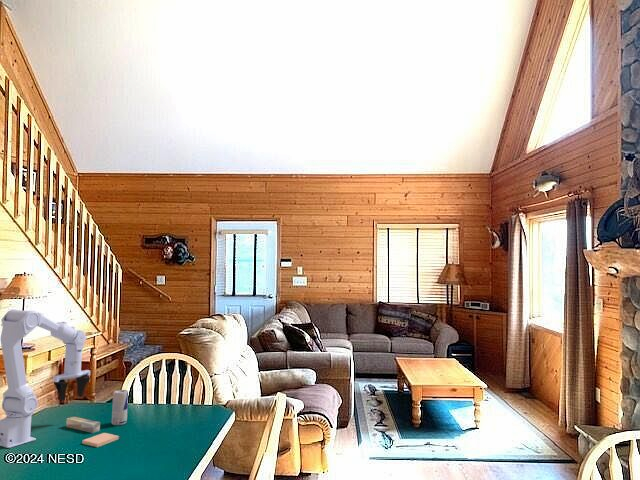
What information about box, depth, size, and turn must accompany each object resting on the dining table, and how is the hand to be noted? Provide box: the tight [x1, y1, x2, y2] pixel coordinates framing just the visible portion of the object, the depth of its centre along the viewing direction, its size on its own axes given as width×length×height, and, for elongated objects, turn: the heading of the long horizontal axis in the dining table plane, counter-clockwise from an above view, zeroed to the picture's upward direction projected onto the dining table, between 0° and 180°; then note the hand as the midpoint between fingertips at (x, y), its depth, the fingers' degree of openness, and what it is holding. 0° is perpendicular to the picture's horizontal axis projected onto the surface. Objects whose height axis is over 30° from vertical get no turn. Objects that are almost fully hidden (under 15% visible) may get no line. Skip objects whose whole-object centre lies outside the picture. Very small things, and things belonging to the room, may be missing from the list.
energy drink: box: [111, 389, 129, 426], centre depth 189 cm, size 5×5×12 cm
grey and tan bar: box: [65, 416, 101, 434], centre depth 181 cm, size 3×14×3 cm, turn 64°
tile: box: [82, 432, 120, 448], centre depth 169 cm, size 9×2×7 cm
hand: (71, 397), depth 188 cm, fingers open, 7 cm apart
